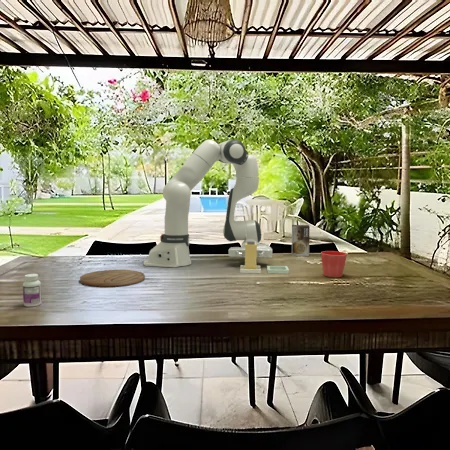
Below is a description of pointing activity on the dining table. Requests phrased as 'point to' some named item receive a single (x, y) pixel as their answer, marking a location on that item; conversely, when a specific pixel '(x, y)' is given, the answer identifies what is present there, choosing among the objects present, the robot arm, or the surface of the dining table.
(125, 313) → the dining table surface
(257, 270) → the socket
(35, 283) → the pill bottle
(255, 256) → the tan tall block
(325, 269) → the flower pot
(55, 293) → the dining table surface
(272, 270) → the socket
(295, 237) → the coffee box
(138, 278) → the trivet
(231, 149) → the robot arm
